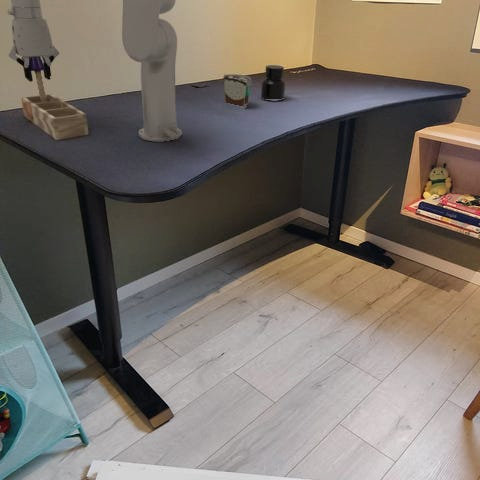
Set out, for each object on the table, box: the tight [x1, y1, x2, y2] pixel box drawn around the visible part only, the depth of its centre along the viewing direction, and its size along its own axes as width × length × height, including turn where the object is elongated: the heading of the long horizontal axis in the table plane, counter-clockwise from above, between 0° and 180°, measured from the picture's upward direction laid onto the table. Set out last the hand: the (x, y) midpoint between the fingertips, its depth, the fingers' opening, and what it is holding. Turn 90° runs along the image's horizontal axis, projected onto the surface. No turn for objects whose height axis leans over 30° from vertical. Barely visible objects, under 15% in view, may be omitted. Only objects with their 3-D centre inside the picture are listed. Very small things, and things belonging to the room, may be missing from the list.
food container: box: [222, 73, 253, 107], centre depth 171 cm, size 12×6×10 cm, turn 47°
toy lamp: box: [29, 57, 47, 103], centre depth 143 cm, size 5×5×17 cm
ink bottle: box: [260, 64, 286, 99], centre depth 180 cm, size 10×9×12 cm
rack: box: [20, 93, 89, 141], centre depth 141 cm, size 26×10×6 cm, turn 40°
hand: (38, 79), depth 142 cm, fingers closed on toy lamp, 4 cm apart
